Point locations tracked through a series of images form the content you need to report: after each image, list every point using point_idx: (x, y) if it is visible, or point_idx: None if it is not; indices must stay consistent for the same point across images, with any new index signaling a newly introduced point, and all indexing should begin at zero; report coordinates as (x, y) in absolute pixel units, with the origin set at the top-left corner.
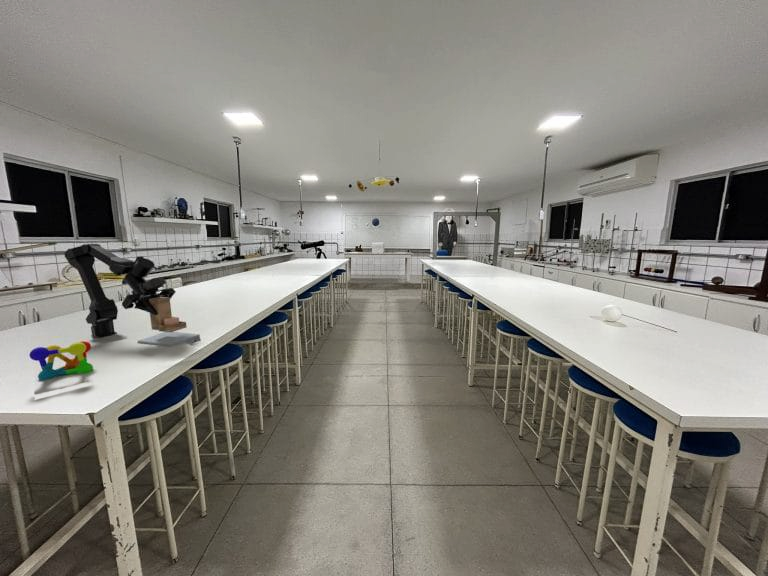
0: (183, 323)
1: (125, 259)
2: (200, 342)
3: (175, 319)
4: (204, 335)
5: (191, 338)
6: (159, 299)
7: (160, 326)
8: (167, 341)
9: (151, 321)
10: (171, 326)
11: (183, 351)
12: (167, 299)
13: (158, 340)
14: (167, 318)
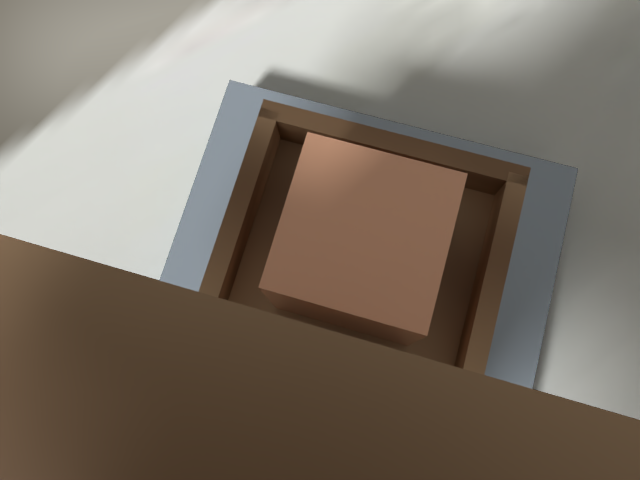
0: (308, 116)
1: None
2: (349, 42)
3: (377, 157)
4: (120, 122)
5: (335, 111)
6: (523, 443)
7: (482, 365)
8: None
9: None
10: (510, 165)
11: (598, 52)
12: (141, 280)
13: None
14: (398, 283)
